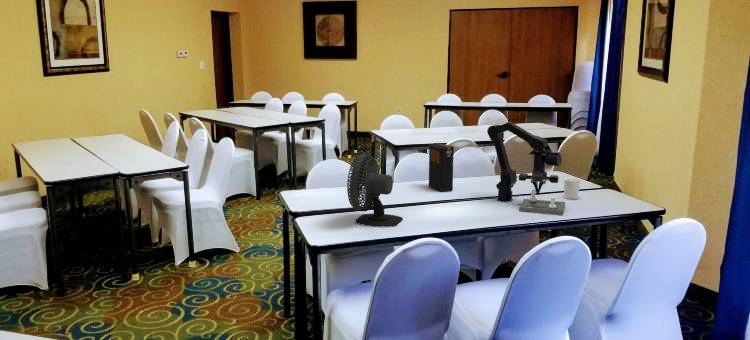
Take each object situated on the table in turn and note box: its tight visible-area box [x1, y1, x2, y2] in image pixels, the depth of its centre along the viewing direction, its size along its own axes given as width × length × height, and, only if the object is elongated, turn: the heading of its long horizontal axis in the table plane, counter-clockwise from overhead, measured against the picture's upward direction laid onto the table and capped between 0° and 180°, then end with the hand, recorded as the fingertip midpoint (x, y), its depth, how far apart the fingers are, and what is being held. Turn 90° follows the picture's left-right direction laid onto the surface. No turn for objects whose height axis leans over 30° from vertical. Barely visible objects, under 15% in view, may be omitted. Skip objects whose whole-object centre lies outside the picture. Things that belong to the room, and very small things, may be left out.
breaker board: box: [518, 198, 566, 216], centre depth 293 cm, size 20×18×2 cm
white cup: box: [563, 177, 581, 200], centre depth 313 cm, size 8×8×10 cm
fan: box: [346, 154, 404, 227], centre depth 271 cm, size 26×26×30 cm
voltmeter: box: [428, 142, 455, 193], centre depth 332 cm, size 16×9×25 cm, turn 25°
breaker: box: [549, 196, 556, 208], centre depth 286 cm, size 3×4×5 cm
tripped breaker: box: [529, 189, 538, 202], centre depth 299 cm, size 3×4×5 cm
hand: (537, 194), depth 298 cm, fingers closed
